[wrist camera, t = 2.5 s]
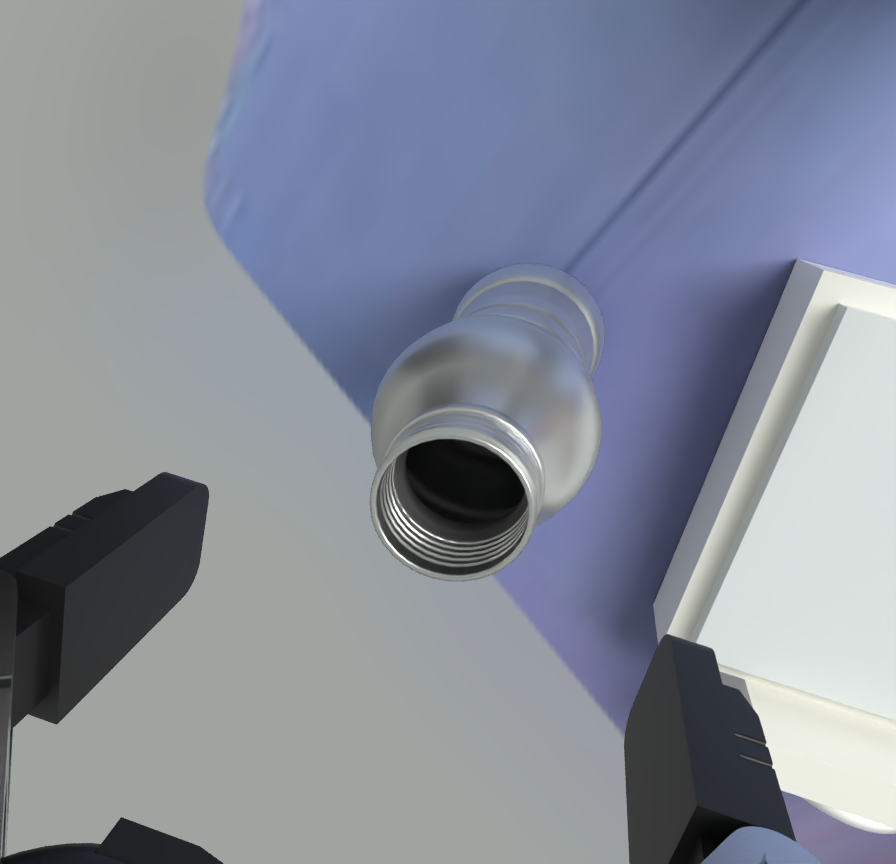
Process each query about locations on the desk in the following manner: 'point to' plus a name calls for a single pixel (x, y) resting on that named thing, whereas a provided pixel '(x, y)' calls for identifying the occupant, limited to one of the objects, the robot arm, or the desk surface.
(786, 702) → the plate
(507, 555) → the silver metal bottle
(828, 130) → the desk surface
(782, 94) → the desk surface
